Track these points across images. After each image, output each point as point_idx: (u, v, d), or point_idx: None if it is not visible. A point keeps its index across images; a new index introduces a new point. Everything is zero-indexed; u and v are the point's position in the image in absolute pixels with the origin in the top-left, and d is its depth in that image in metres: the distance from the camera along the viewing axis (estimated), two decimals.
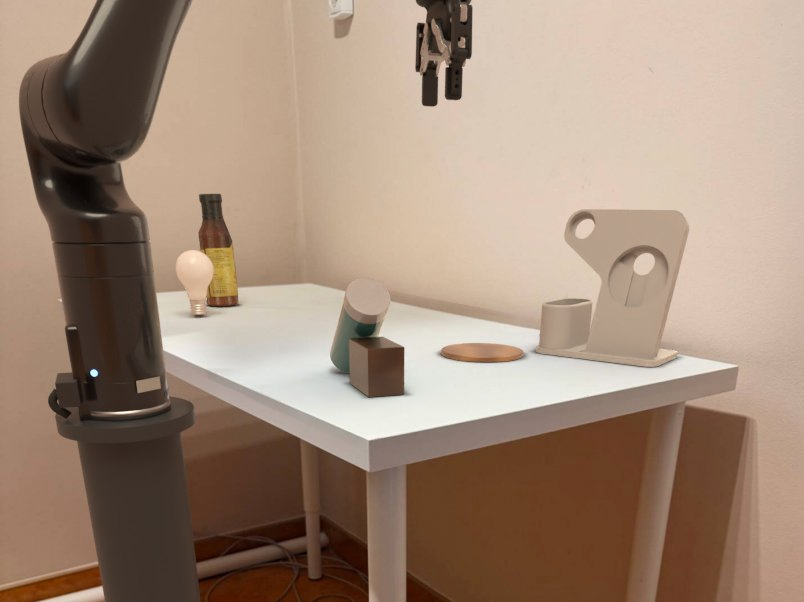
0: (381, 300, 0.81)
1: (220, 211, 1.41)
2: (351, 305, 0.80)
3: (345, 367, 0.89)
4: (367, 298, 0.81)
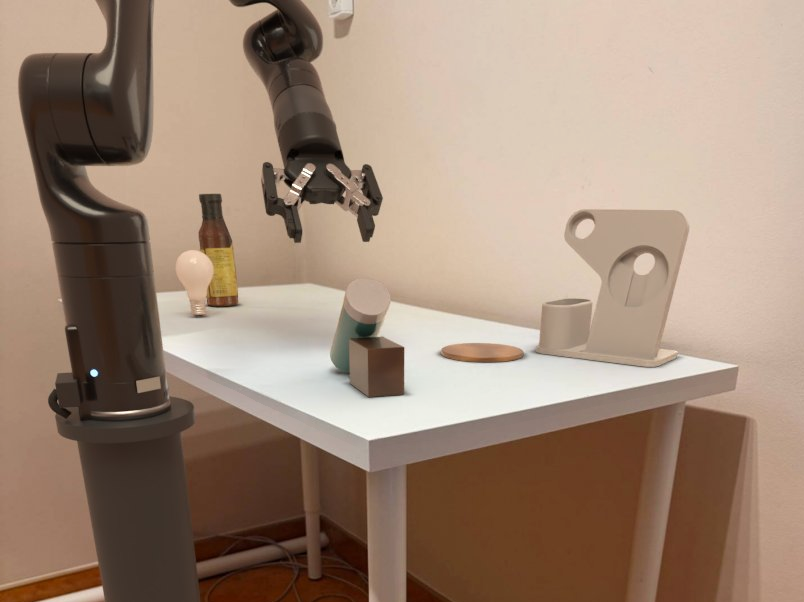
0: (381, 300, 0.81)
1: (220, 211, 1.41)
2: (351, 305, 0.80)
3: (345, 367, 0.89)
4: (367, 298, 0.81)
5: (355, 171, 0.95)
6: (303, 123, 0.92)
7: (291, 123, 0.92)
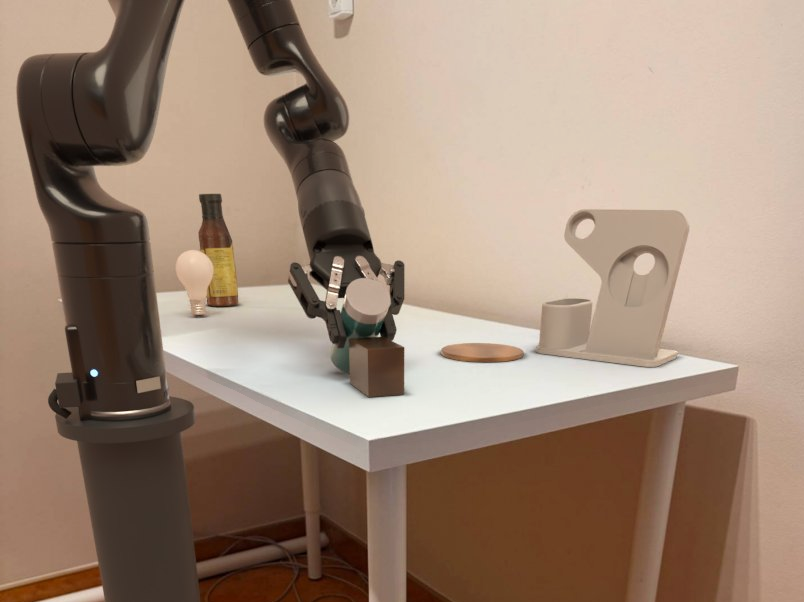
0: (381, 300, 0.81)
1: (220, 211, 1.41)
2: (351, 305, 0.80)
3: (345, 367, 0.89)
4: (367, 298, 0.81)
5: (387, 265, 0.89)
6: (331, 213, 0.86)
7: (318, 213, 0.86)
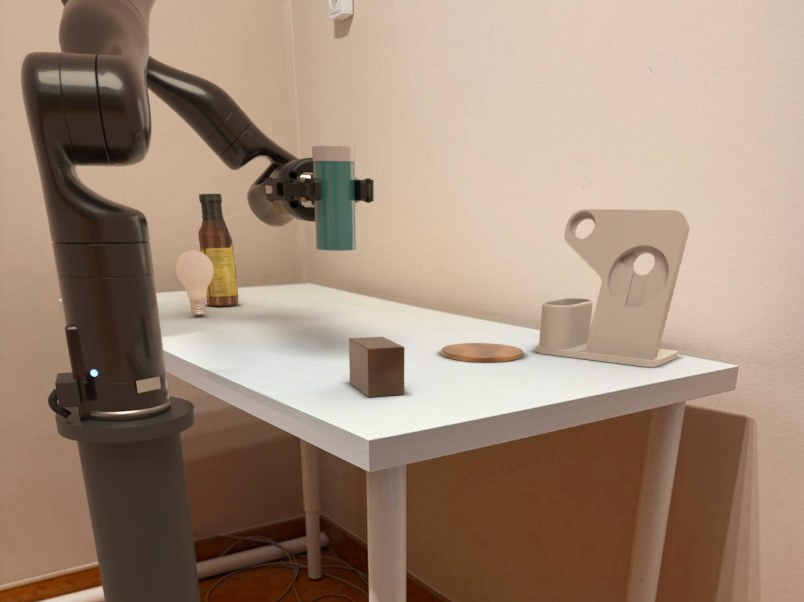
0: None
1: (220, 211, 1.41)
2: (317, 146, 0.85)
3: (331, 242, 0.89)
4: None
5: None
6: (298, 160, 0.97)
7: (288, 166, 0.98)
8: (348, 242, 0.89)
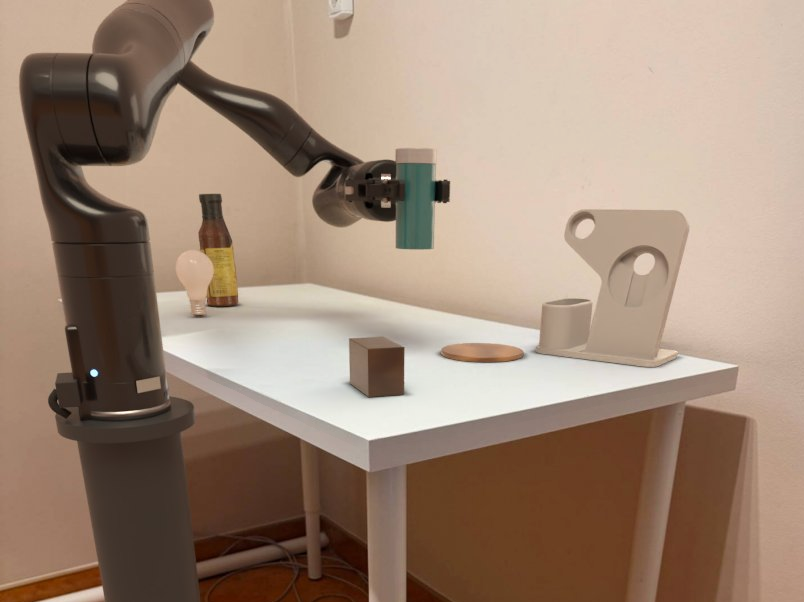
0: None
1: (220, 211, 1.41)
2: (402, 148, 0.88)
3: (412, 241, 0.92)
4: None
5: None
6: (372, 162, 1.00)
7: (362, 168, 1.01)
8: (428, 241, 0.92)
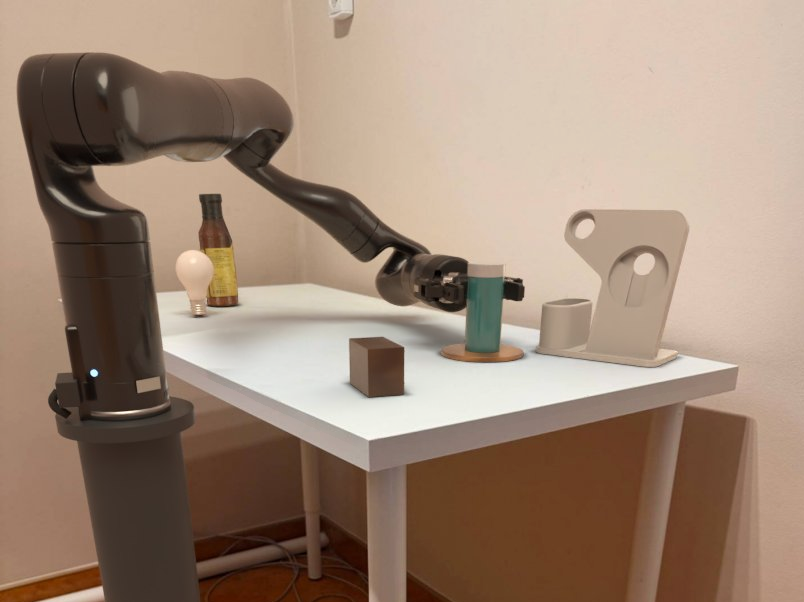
0: (497, 263, 0.98)
1: (220, 211, 1.41)
2: (475, 264, 0.96)
3: (481, 345, 1.00)
4: (486, 263, 0.97)
5: None
6: (440, 258, 1.08)
7: (430, 263, 1.08)
8: (496, 345, 1.00)
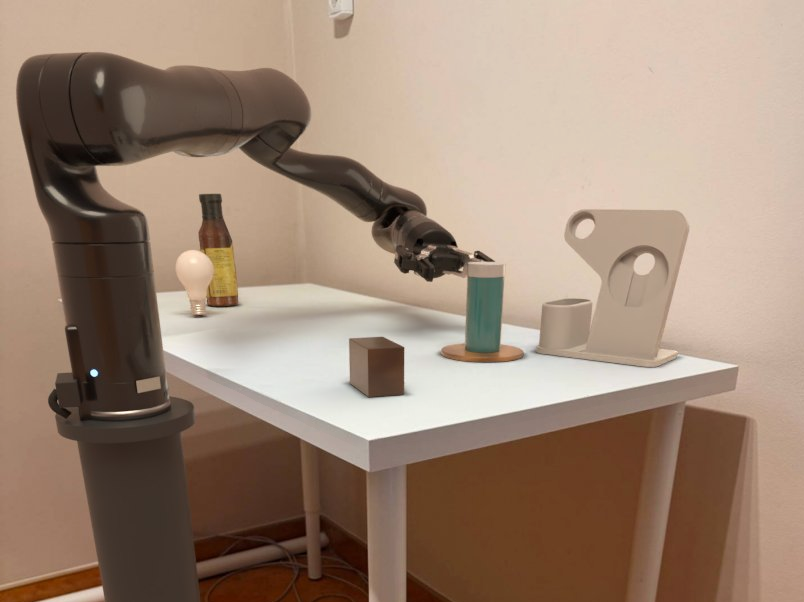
0: (497, 263, 0.98)
1: (220, 211, 1.41)
2: (475, 264, 0.96)
3: (481, 345, 1.00)
4: (486, 263, 0.97)
5: None
6: (425, 225, 1.15)
7: (415, 228, 1.16)
8: (496, 345, 1.00)
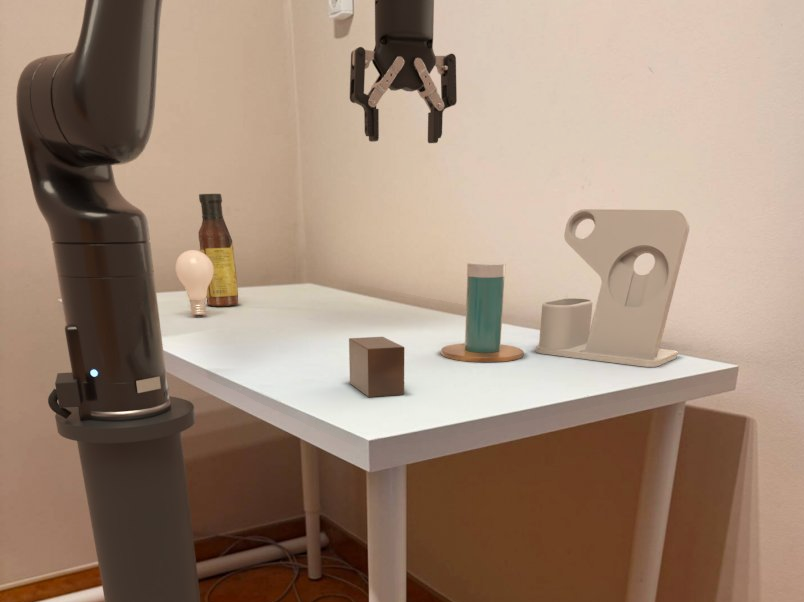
0: (497, 263, 0.98)
1: (220, 211, 1.41)
2: (475, 264, 0.96)
3: (481, 345, 1.00)
4: (486, 263, 0.97)
5: (440, 57, 1.00)
6: (404, 10, 0.93)
7: (392, 3, 0.93)
8: (496, 345, 1.00)
